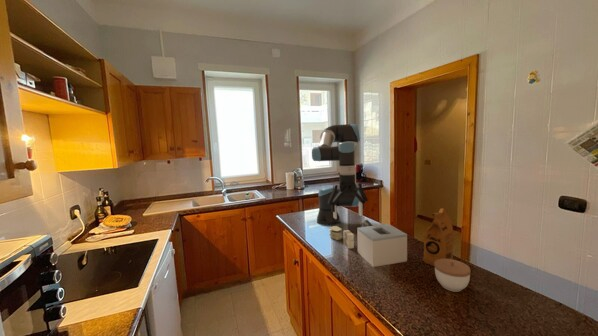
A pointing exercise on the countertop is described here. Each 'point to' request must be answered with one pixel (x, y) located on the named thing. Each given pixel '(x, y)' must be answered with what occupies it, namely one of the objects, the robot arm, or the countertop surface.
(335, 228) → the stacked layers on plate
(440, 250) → the coffee package
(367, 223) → the fossil
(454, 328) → the countertop surface
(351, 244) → the tan rectangular block
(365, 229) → the slot box
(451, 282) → the lidded jar
